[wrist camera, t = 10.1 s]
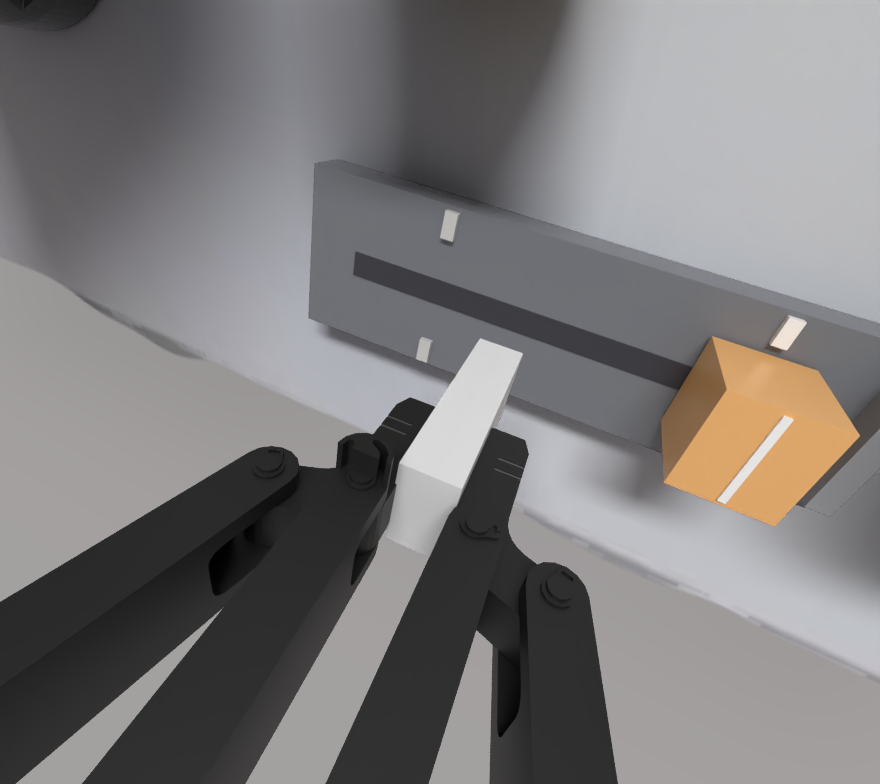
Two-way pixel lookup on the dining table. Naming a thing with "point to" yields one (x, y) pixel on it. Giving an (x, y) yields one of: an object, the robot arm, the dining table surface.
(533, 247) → the slide potentiometer
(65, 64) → the dining table surface
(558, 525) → the dining table surface
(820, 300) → the dining table surface
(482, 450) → the robot arm
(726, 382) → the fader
